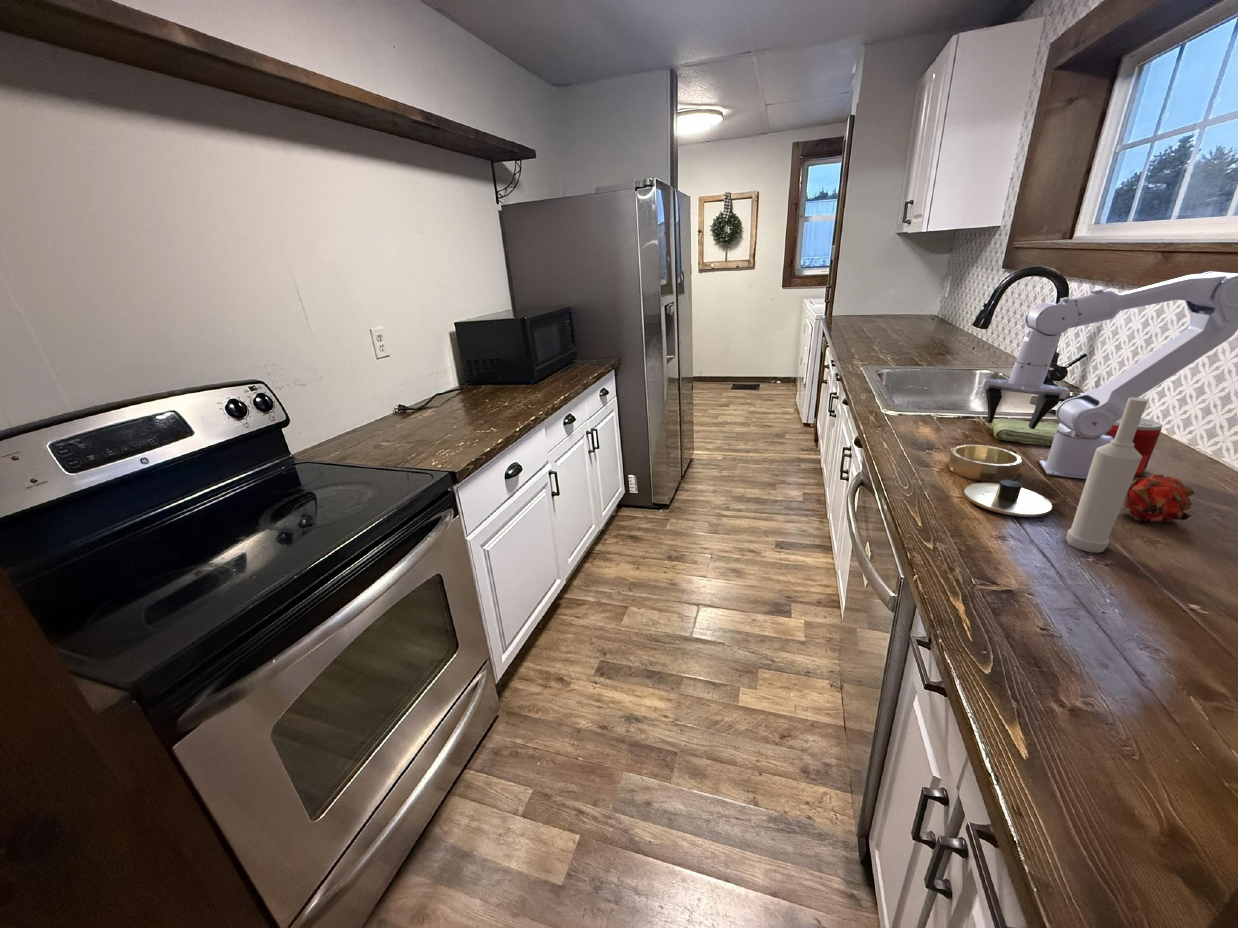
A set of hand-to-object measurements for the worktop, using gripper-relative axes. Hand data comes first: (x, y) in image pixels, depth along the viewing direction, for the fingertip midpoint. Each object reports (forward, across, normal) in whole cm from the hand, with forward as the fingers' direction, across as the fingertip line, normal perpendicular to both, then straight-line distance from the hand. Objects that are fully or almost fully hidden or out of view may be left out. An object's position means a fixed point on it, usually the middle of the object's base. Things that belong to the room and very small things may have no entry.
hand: (1010, 424), depth 109 cm
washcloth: (+9, +11, +24) cm, 29 cm away
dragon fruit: (+9, +20, -18) cm, 29 cm away
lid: (+10, -1, -20) cm, 22 cm away
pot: (+10, -3, -4) cm, 11 cm away
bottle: (+10, +7, -33) cm, 36 cm away
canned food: (+8, +23, +6) cm, 25 cm away
